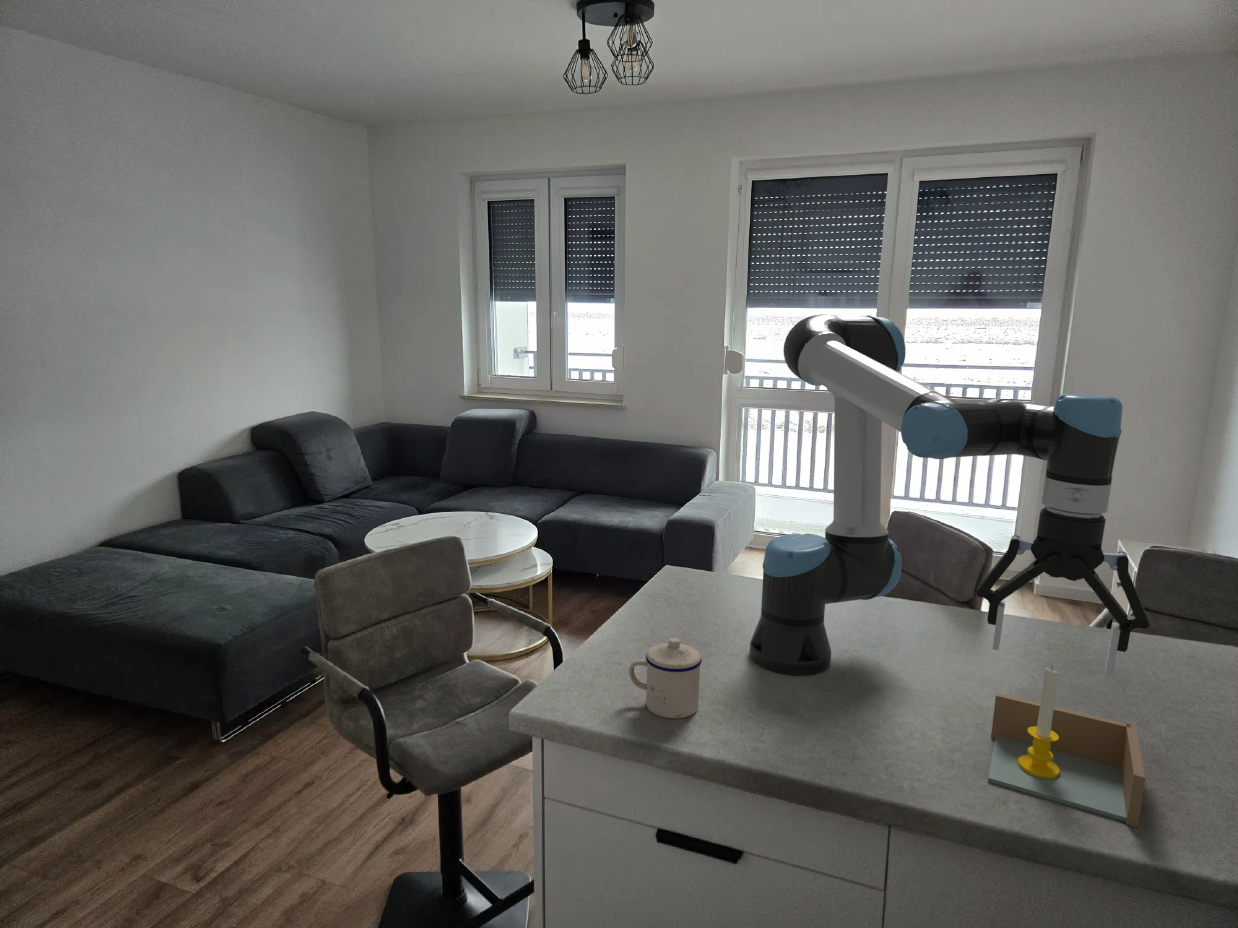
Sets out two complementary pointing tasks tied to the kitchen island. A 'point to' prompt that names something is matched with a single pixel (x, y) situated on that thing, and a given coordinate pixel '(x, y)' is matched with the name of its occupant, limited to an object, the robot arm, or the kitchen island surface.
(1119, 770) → the open room model
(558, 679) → the kitchen island surface
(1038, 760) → the candle
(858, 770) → the kitchen island surface
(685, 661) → the teacup with lid
